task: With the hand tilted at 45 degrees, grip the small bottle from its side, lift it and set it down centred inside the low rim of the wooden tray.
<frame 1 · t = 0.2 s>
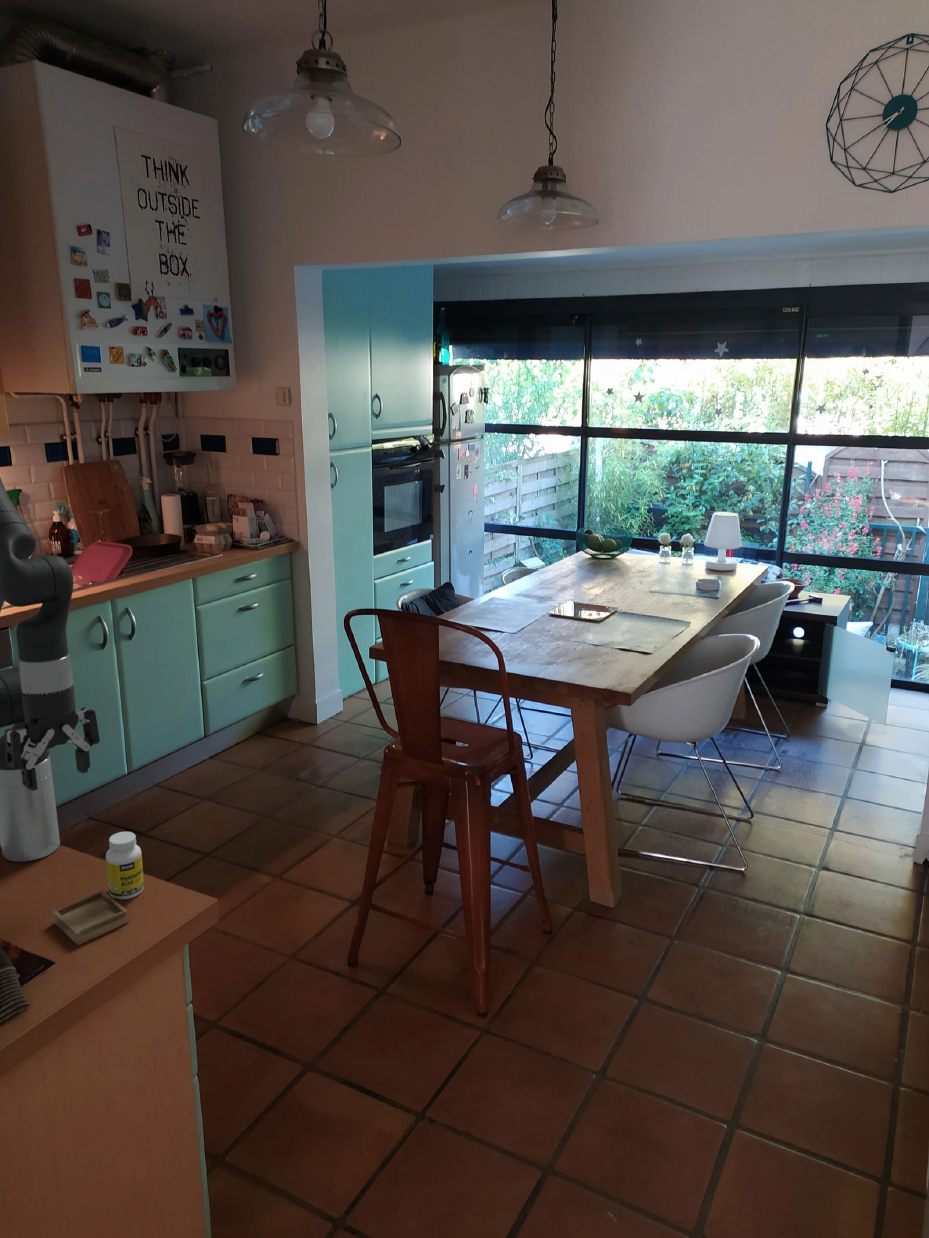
hand: (57, 780, 146), 18 cm above the countertop, tool pointing down, fingers open, 8 cm apart
supplement bottle: (127, 892, 149), on the countertop
wooden tray: (91, 922, 140), on the countertop
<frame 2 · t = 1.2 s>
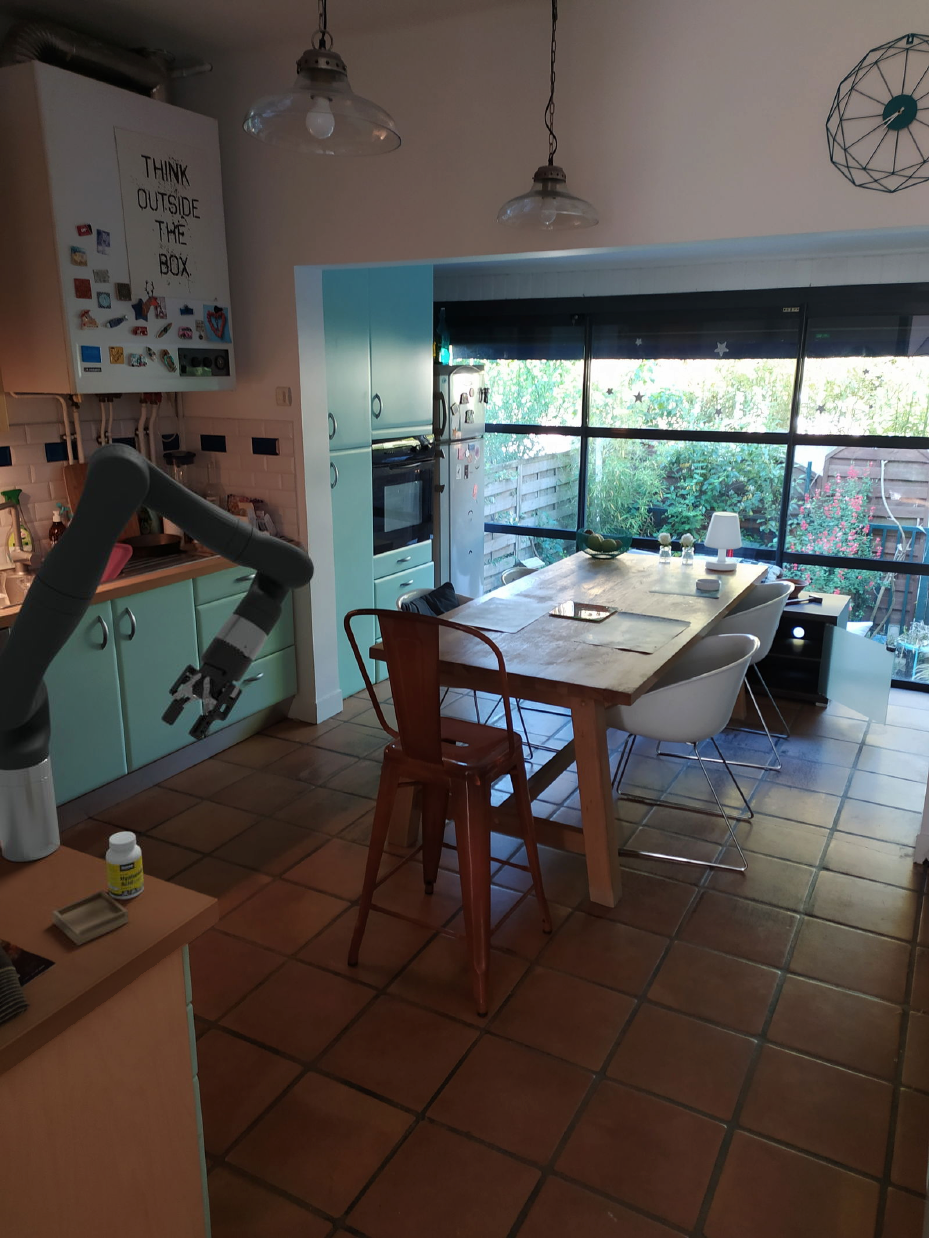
hand: (179, 730, 149), 25 cm above the countertop, tool tilted 45°, fingers open, 8 cm apart
nothing on the countertop moved.
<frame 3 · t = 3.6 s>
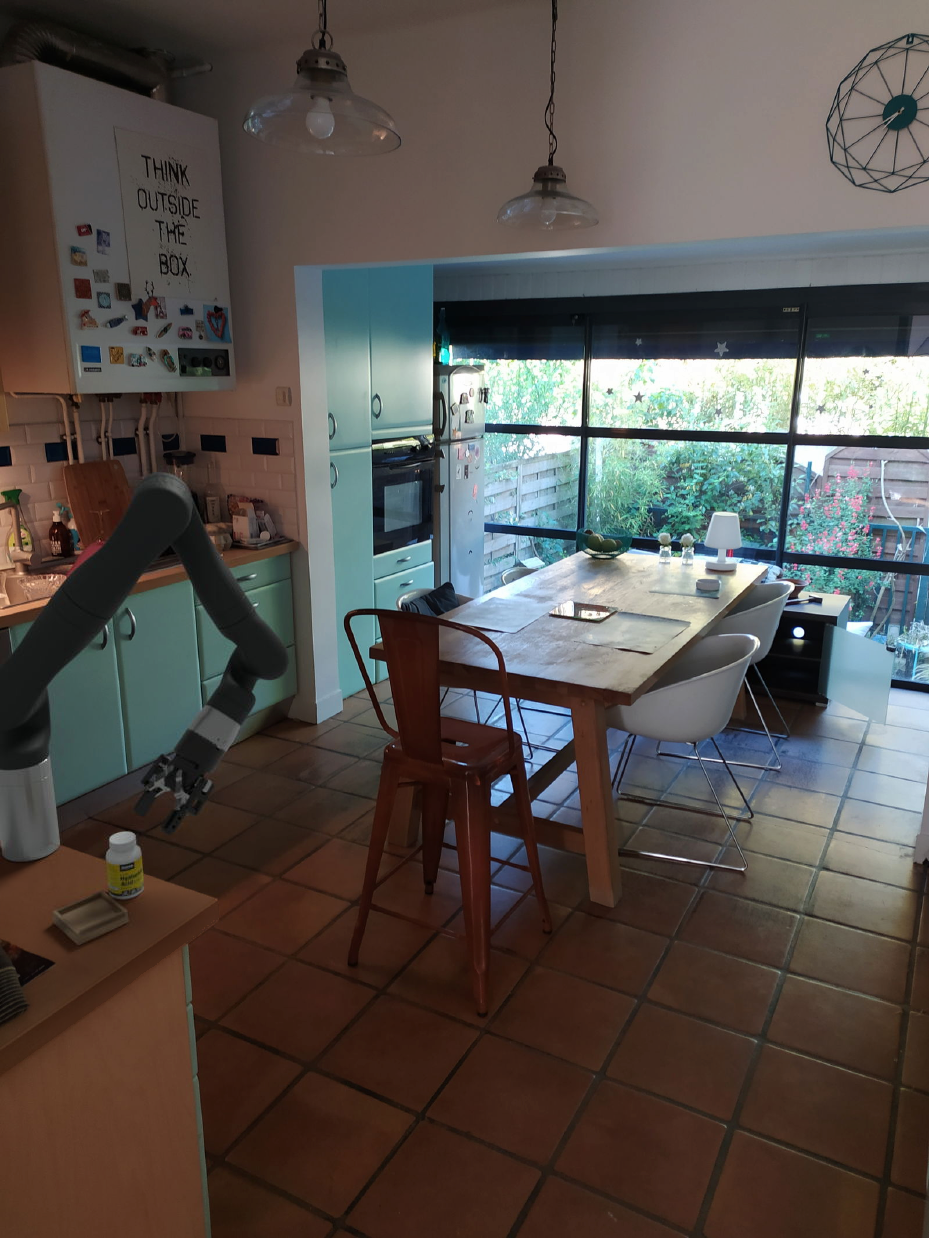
hand: (151, 823, 149), 10 cm above the countertop, tool tilted 45°, fingers open, 8 cm apart
nothing on the countertop moved.
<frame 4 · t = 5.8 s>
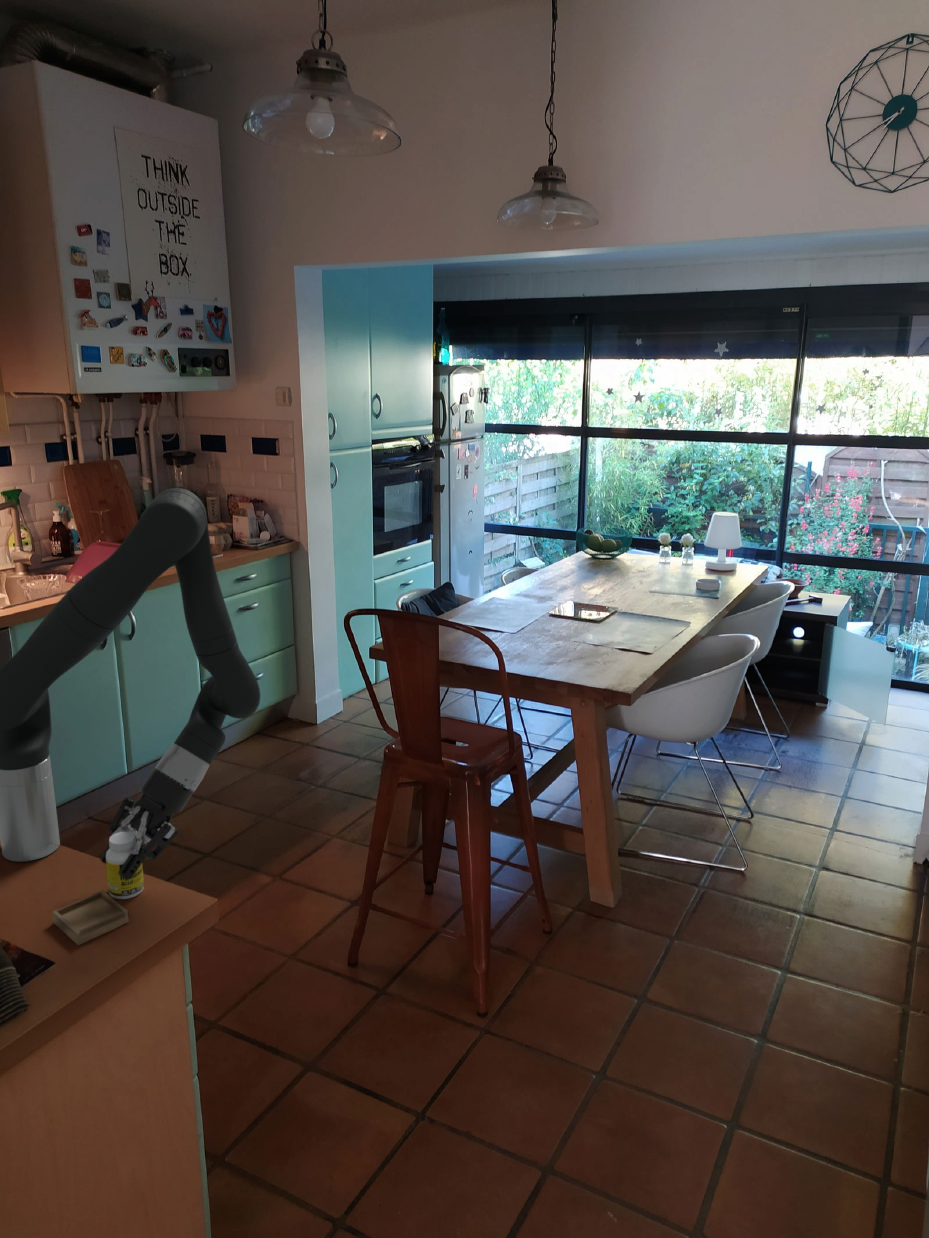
hand: (114, 869, 146), 5 cm above the countertop, tool tilted 45°, fingers closed on supplement bottle, 5 cm apart
supplement bottle: (127, 891, 149), on the countertop, touching gripper
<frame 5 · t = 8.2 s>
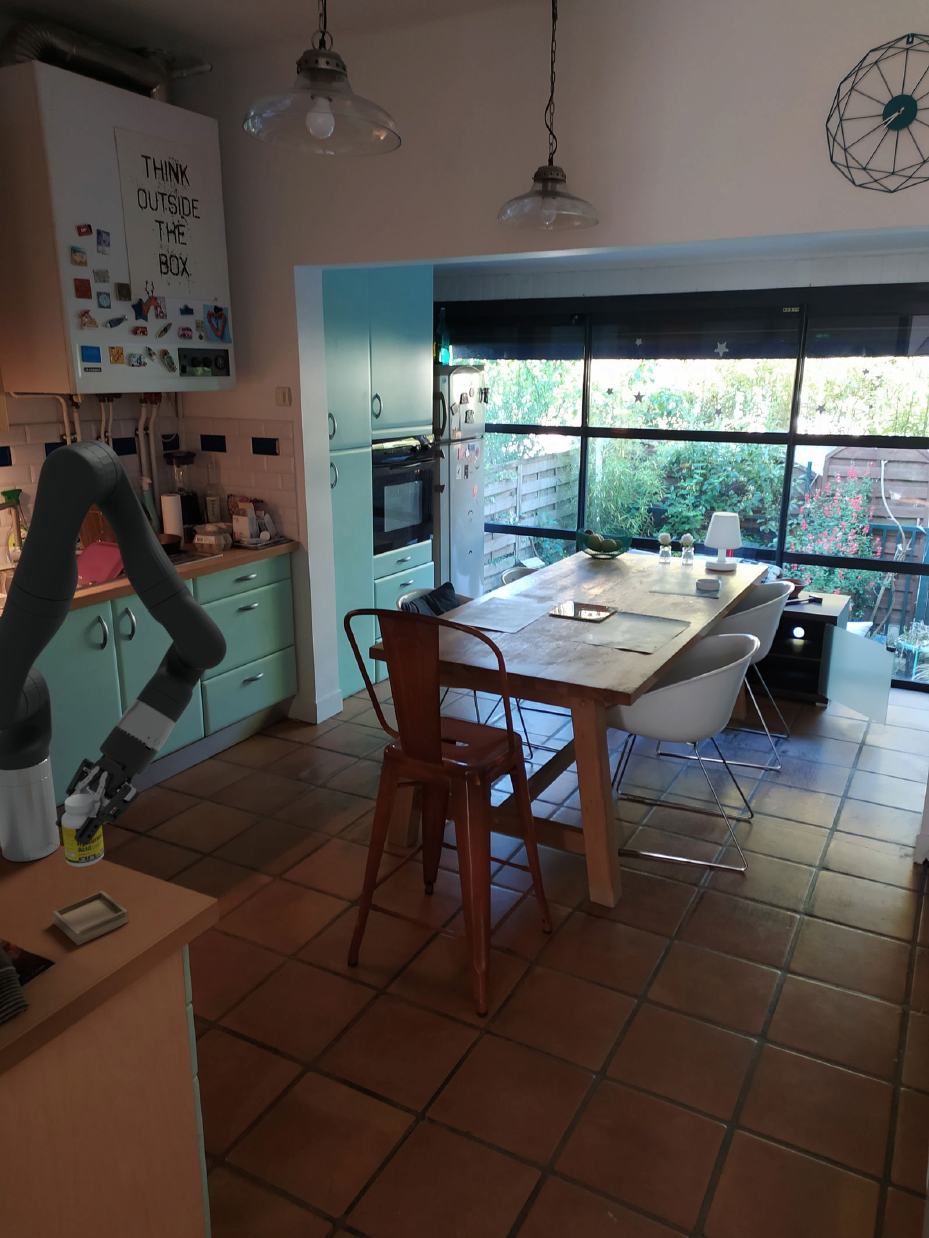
hand: (70, 834, 135), 16 cm above the countertop, tool tilted 45°, fingers closed on supplement bottle, 5 cm apart
supplement bottle: (85, 859, 137), point 11 cm above the countertop, touching gripper
when the fingers open (7 cm above the countertop, at t = 10.5 s): supplement bottle drops 1 cm, resting on wooden tray.
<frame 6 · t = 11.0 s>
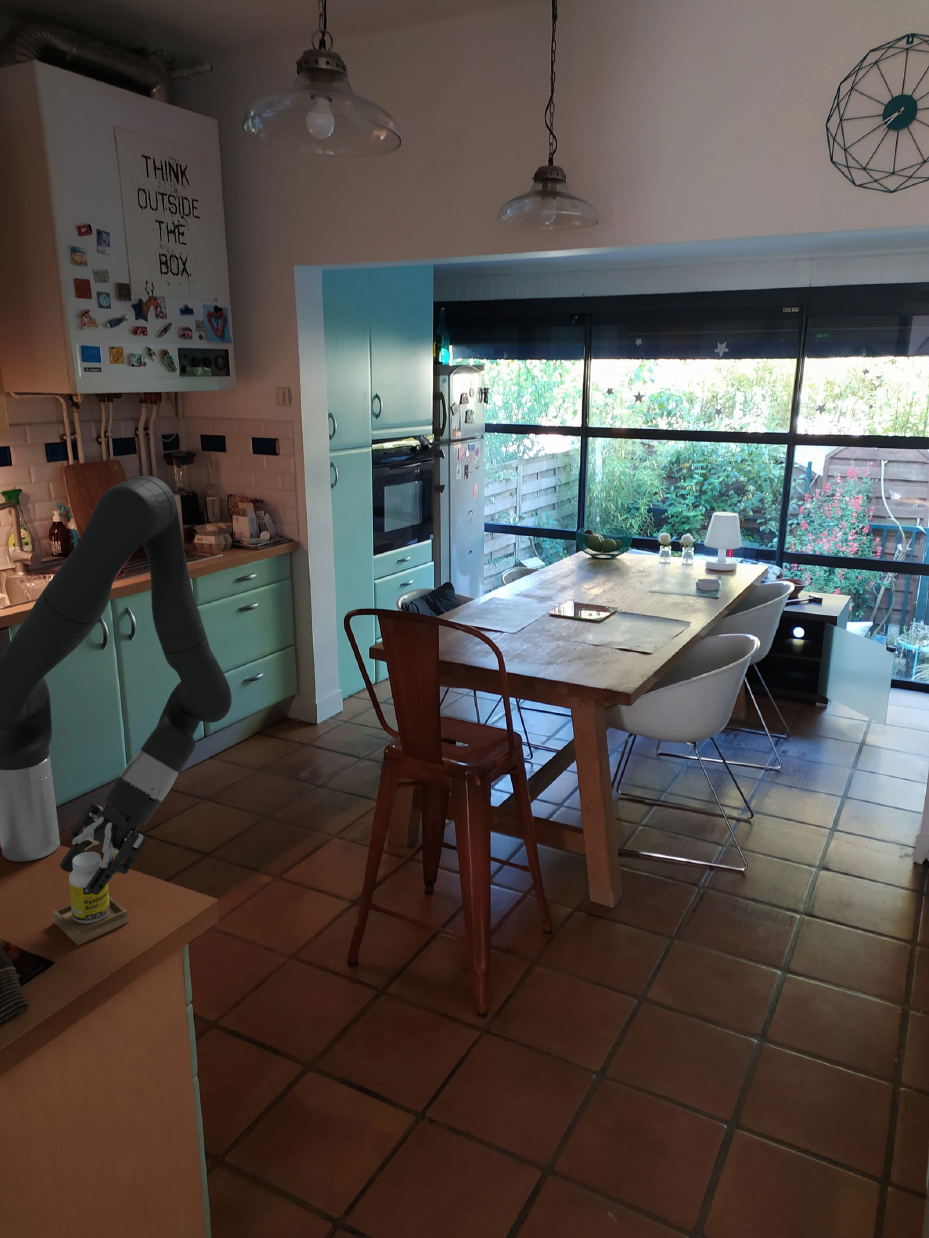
hand: (77, 881, 137), 8 cm above the countertop, tool tilted 45°, fingers open, 8 cm apart
supplement bottle: (91, 915, 140), point 1 cm above the countertop, touching wooden tray
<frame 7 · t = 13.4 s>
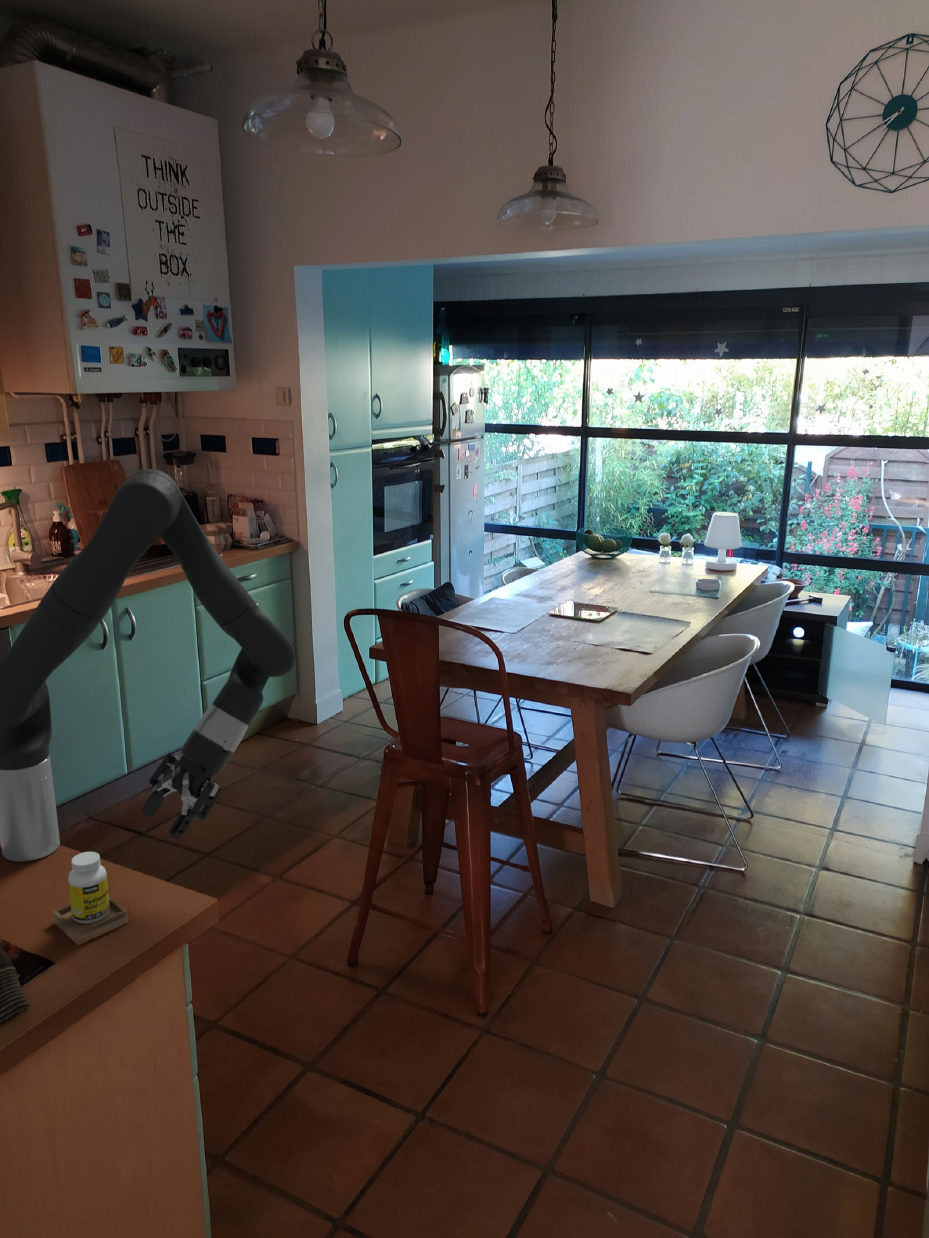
hand: (159, 826, 147), 11 cm above the countertop, tool tilted 40°, fingers open, 8 cm apart
nothing on the countertop moved.
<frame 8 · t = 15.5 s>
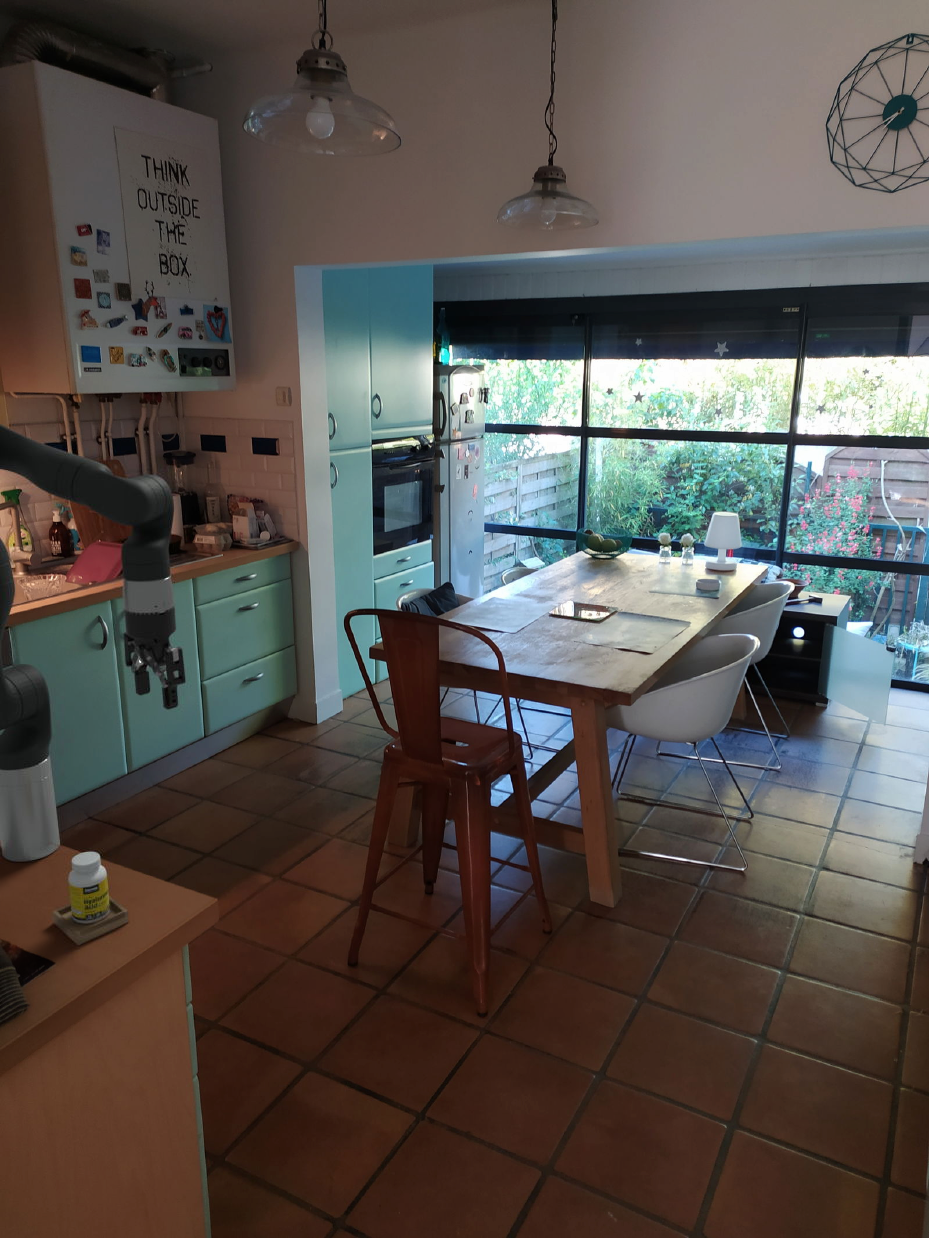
hand: (157, 700, 148), 30 cm above the countertop, tool pointing down, fingers open, 8 cm apart
nothing on the countertop moved.
at the end: supplement bottle 0.3 cm off-centre on the wooden tray, point 1.0 cm above the wooden tray's base; supplement bottle tilted 0°; the gripper is holding nothing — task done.
